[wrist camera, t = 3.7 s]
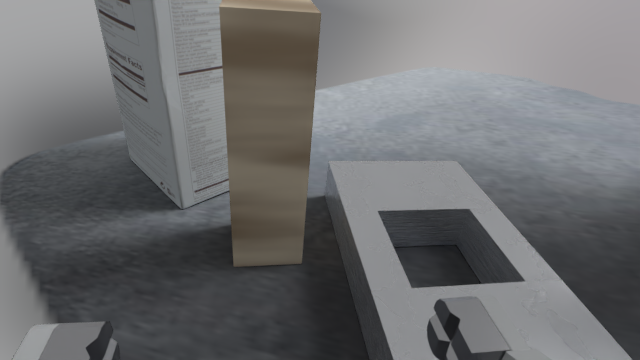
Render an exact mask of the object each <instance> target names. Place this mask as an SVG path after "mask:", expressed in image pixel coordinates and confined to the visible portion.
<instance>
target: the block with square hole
mask: <svg viewBox="0 0 640 360" xmlns="http://www.w3.org/2000/svg"><path fill="white" fill-rule="evenodd" d="M325 197H326V201H327V205H328V209H329V212H330V216H331V220H332V223H333V227H334V231H335V234H336V238H337V242H338V245H339V249H340V253H341V256H342V260H343V264H344V268H345V271H346V275H347V279H348V282H349V286H350V290H351V293H352V297H353V301H354V304H355V308H356V312H357V315H358V319H359V323H360V327H361V330H362V334H363V338H364V341H365V345H366V349H367V352H368V356H369V360H439V359H438V358H437V357H435V356H434V355H433V353H432V351H431V348H430V346H429V342H428V338H427V325H428V322H429V319H430V318H431V317H432V316H434V315H435V314H436V312H435V310H434V305H435V303H436V301H437V300H439V299H442V298H454V297H467V296H473V297H474V296H486V295H492V296H494V297H495V298H496V299H497V300H498V301H499V303H500V304H501V306H502V307H503V309H504V310H505V312H506V313H507V315H508V316H509V318H510V319H511V321H512V322H513V324H514V325H515V327H516V328H517V330H518V331H519V333H520V334H521V336H522V337H523V338H524V340H525V341H526V343H527V344H528V346H529V347H530V349H537V350H539V351H540V352H541V353H543V354H544V355H546V356H547V357H549V358H550V359H552V360H632V359H631V357H630V356H629V355H628V354H627V353H626V352H625V351H624V350H623V348H622V347H621V346H620V345H619V344H618V343H617V342H616V341H615V339H614V338H613V337H612V336H611V335H610V334H609V333H608V332H607V330H606V329H605V328H604V327H603V326H602V325H601V324H600V323H599V321H598V320H597V319H596V318H595V317H594V316H593V315H592V313H591V312H590V311H589V310H588V309H587V308H586V307H585V306H584V304H583V303H582V302H581V301H580V300H579V299H578V298H577V297H576V295H575V294H574V293H573V292H572V291H571V290H570V289H569V288H568V286H567V285H566V284H565V283H564V282H563V281H562V280H561V278H560V277H559V276H558V275H557V274H556V273H555V272H554V271H553V269H552V268H551V267H550V266H549V265H548V264H547V263H546V262H545V260H544V259H543V258H542V257H541V256H540V255H539V254H538V253H537V251H536V250H535V249H534V248H533V247H532V246H531V245H530V244H529V242H528V241H527V240H526V239H525V238H524V237H523V236H522V234H521V233H520V232H519V231H518V230H517V229H516V228H515V227H514V225H513V224H512V223H511V222H510V221H509V220H508V219H507V218H506V216H505V215H504V214H503V213H502V212H501V211H500V210H499V209H498V207H497V206H496V205H495V204H494V203H493V202H492V201H491V199H490V198H489V197H488V196H487V195H486V194H485V193H484V192H483V190H482V189H481V188H480V187H479V186H478V185H477V184H476V183H475V181H474V180H473V179H472V178H471V177H470V176H469V175H468V174H467V172H466V171H465V170H464V169H463V168H462V167H461V166H460V165H459V163H458V162H457V161H328V171H327V180H326V189H325ZM455 244H456V245H457V247H458V248H459V250H460V251H461V253H462V254H463V256H464V257H465V259H466V261H467V262H468V264H469V265H470V267H471V268H472V270H473V271H474V273H475V274H476V276H477V278H478V279H479V281H480V282H481V284H474V285H457V286H441V287H424V288H412V287H411V285H410V283H409V281H408V278H407V276H406V274H405V272H404V269H403V267H402V265H401V263H400V260H399V258H398V256H397V254H396V251H395V249H394V247H406V246H431V245H455Z"/></svg>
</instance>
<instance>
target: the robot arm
mask: <svg viewBox="0 0 640 360" xmlns="http://www.w3.org/2000/svg"><path fill="white" fill-rule="evenodd" d="M434 310H435V312H436V314H435V315H434V316H432V317H431V318H430V319H429V322H428V325H427V338H428V342H429V346H430V348H431V351H432V353H433V355H434V356H435V357H437V358H438V359H439V360H552V359H550V358H549V357H547V356H546V355H544V354H543V353H541V352H540V351H539V350H537V349H530V347H529V346H528V344H527V343H526V341H525V340H524V338H523V337H522V336H521V334H520V333H519V331H518V330H517V328H516V327H515V325H514V324H513V322H512V321H511V319H510V318H509V316H508V315H507V313H506V312H505V310H504V309H503V307H502V306H501V304H500V303H499V301H498V300H497V299H496V298H495V297H494V296H492V295H486V296H474V297H473V296H467V297H454V298H442V299H439V300H437V301H436V303H435V305H434ZM112 333H113V328H112V325H111V323H110V321H105V322H81V323H57V324H41V325H34V326H33V327H32V328H31V329H30V330H29V331H28V332H27V334H26V336H25V337H24V339H23V341H22V342H21V344H20V346H19V348H18V349H17V351H16V353H15V355H14V356H13V358H12V360H120V351H119V346H118V343H117V342H116V341H115V340H113V339H111V336H112Z"/></svg>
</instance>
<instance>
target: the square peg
mask: <svg viewBox="0 0 640 360" xmlns="http://www.w3.org/2000/svg"><path fill="white" fill-rule="evenodd" d="M219 14H220V32H221V50H222V68H223V86H224V104H225V121H226V139H227V157H228V175H229V193H230V211H231V229H232V247H233V265H234V267H243V266H265V265H286V264H302V254H303V241H304V229H305V216H306V203H307V190H308V177H309V164H310V151H311V138H312V125H313V112H314V99H315V86H316V73H317V60H318V47H319V34H320V21H321V12H320V11H319V10H318V9H317V7H316V6H315V5H314V4H313V3H312V2H311V0H222V1H221V3H220V6H219Z"/></svg>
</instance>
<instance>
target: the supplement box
mask: <svg viewBox="0 0 640 360" xmlns="http://www.w3.org/2000/svg"><path fill="white" fill-rule="evenodd" d="M221 1H222V0H95V4H96V9H97V13H98V18H99V22H100V26H101V31H102V35H103V40H104V44H105V49H106V52H107V57H108V62H109V66H110V71H111V75H112V80H113V84H114V88H115V93H116V97H117V102H118V105H119V110H120V115H121V119H122V124H123V128H124V133H125V137H126V142H127V146H128V151H129V155H130V159H131V160H132V161H133V162H134V163H135V164H136V165H137V166H138V167H139V168H140V169H141V170H142V171H143V172H144V173H145V174H146V175H147V176H148V177H149V178H150V179H151V180H152V181H153V182H154V183H155V184H156V185H157V186H158V187H159V188H160V189H161V190H162V191H163V192H164V193H165V194H166V195H167V196H168V197H169V198H170V199H171V200H172V201H173V202H174V203H175V204H176V205H177V206H179V207H180V208H181V209H185V208H188V207H190V206H192V205H195V204H197V203H200V202H202V201H204V200H207V199H209V198H212V197H214V196H217V195H219V194H222V193H224V192H227V191H229V175H228V157H227V139H226V121H225V104H224V86H223V68H222V50H221V32H220V14H219V6H220V3H221Z"/></svg>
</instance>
